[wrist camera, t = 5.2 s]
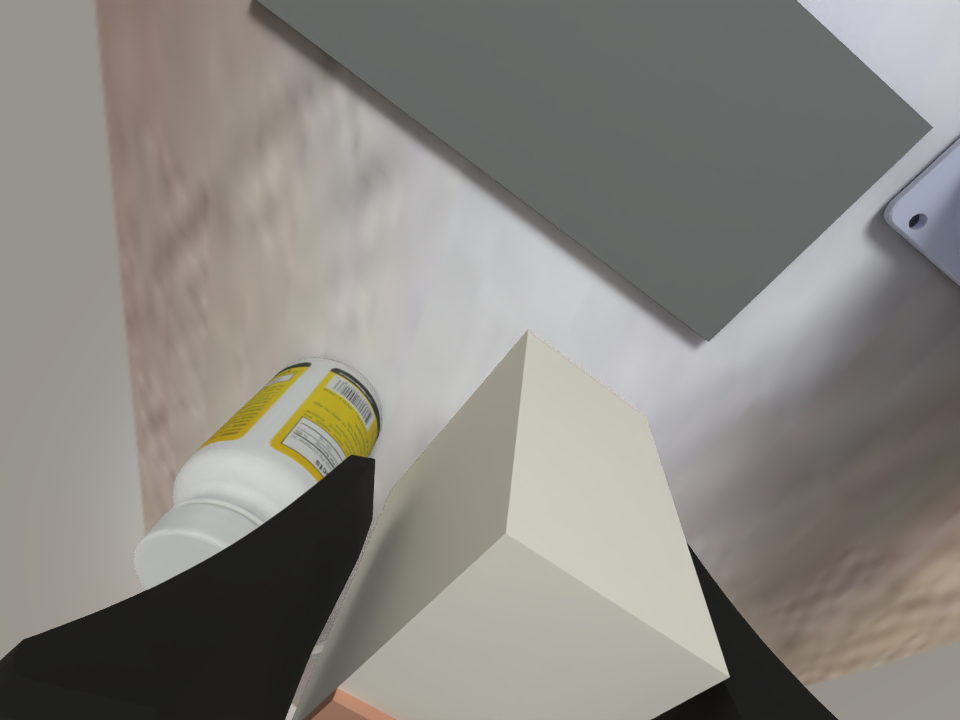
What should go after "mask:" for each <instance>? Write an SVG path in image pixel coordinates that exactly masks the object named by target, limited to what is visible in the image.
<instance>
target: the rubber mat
mask: <svg viewBox="0 0 960 720" xmlns="http://www.w3.org/2000/svg"><path fill="white" fill-rule="evenodd" d="M257 1H258V2H259V3H261V4H262V5H263V6H265V7H266V8H267V9H269V10H270V11H271V12H273V13H274V14H275V15H277V16H278V17H279V18H281V19H282V20H283V21H285V22H286V23H287V24H289V25H290V26H291V27H293V28H294V29H295V30H296V31H298V32H299V33H300V34H302V35H303V36H304V37H306V38H307V39H308V40H310V41H311V42H312V43H314V44H315V45H316V46H318V47H319V48H320V49H322V50H323V51H324V52H326V53H327V54H328V55H330V56H331V57H332V58H334V59H335V60H336V61H338V62H339V63H340V64H342V65H343V66H344V67H346V68H347V69H348V70H349V71H351V72H352V73H353V74H355V75H356V76H357V77H359V78H360V79H361V80H363V81H364V82H365V83H367V84H368V85H369V86H371V87H372V88H373V89H375V90H376V91H377V92H379V93H380V94H381V95H383V96H384V97H385V98H387V99H388V100H389V101H391V102H392V103H393V104H395V105H396V106H397V107H399V108H400V109H401V110H402V111H404V112H405V113H406V114H408V115H409V116H410V117H412V118H413V119H414V120H416V121H417V122H418V123H420V124H421V125H422V126H424V127H425V128H426V129H428V130H429V131H430V132H432V133H433V134H434V135H436V136H437V137H438V138H440V139H441V140H442V141H444V142H445V143H446V144H448V145H449V146H450V147H452V148H453V149H454V150H455V151H457V152H458V153H459V154H461V155H462V156H463V157H465V158H466V159H467V160H469V161H470V162H471V163H473V164H474V165H475V166H477V167H478V168H479V169H481V170H482V171H483V172H485V173H486V174H487V175H489V176H490V177H491V178H493V179H494V180H495V181H497V182H498V183H499V184H501V185H502V186H503V187H505V188H506V189H507V190H509V191H510V192H511V193H512V194H514V195H515V196H516V197H518V198H519V199H520V200H522V201H523V202H524V203H526V204H527V205H528V206H530V207H531V208H532V209H534V210H535V211H536V212H538V213H539V214H540V215H542V216H543V217H544V218H546V219H547V220H548V221H550V222H551V223H552V224H554V225H555V226H556V227H558V228H559V229H560V230H562V231H563V232H564V233H565V234H567V235H568V236H569V237H571V238H572V239H573V240H575V241H576V242H577V243H579V244H580V245H581V246H583V247H584V248H585V249H587V250H588V251H589V252H591V253H592V254H593V255H595V256H596V257H597V258H599V259H600V260H601V261H603V262H604V263H605V264H607V265H608V266H609V267H611V268H612V269H613V270H615V271H616V272H617V273H618V274H620V275H621V276H622V277H624V278H625V279H626V280H628V281H629V282H630V283H632V284H633V285H634V286H636V287H637V288H638V289H640V290H641V291H642V292H644V293H645V294H646V295H648V296H649V297H650V298H652V299H653V300H654V301H656V302H657V303H658V304H660V305H661V306H662V307H664V308H665V309H666V310H668V311H669V312H670V313H671V314H673V315H674V316H675V317H677V318H678V319H679V320H681V321H682V322H683V323H685V324H686V325H687V326H689V327H690V328H691V329H693V330H694V331H695V332H697V333H698V334H699V335H701V336H702V337H703V338H705V339H706V340H707V341H710V340H711V339H712V338H713V337H714V336H715V335H716V334H717V333H718V332H719V331H720V330H721V329H722V328H724V327H725V326H726V325H727V324H728V323H729V322H730V321H731V320H732V319H733V318H734V317H735V316H736V315H737V314H738V313H739V312H740V311H741V310H742V309H743V308H744V307H746V306H747V305H748V304H749V303H750V302H751V301H752V300H753V299H754V298H755V297H756V296H757V295H758V294H759V293H760V292H761V291H762V290H763V289H764V288H765V287H766V286H768V285H769V284H770V283H771V282H772V281H773V280H774V279H775V278H776V277H777V276H778V275H779V274H780V273H781V272H782V271H783V270H784V269H785V268H786V267H787V266H788V265H790V264H791V263H792V262H793V261H794V260H795V259H796V258H797V257H798V256H799V255H800V254H801V253H802V252H803V251H804V250H805V249H806V248H807V247H808V246H809V245H810V244H812V243H813V242H814V241H815V240H816V239H817V238H818V237H819V236H820V235H821V234H822V233H823V232H824V231H825V230H826V229H827V228H828V227H829V226H830V225H831V224H832V223H834V222H835V221H836V220H837V219H838V218H839V217H840V216H841V215H842V214H843V213H844V212H845V211H846V210H847V209H848V208H849V207H850V206H851V205H852V204H853V203H854V202H856V201H857V200H858V199H859V198H860V197H861V196H862V195H863V194H864V193H865V192H866V191H867V190H868V189H869V188H870V187H871V186H872V185H873V184H874V183H875V182H876V181H878V180H879V179H880V178H881V177H882V176H883V175H884V174H885V173H886V172H887V171H888V170H889V169H890V168H891V167H892V166H893V165H894V164H895V163H896V162H897V161H898V160H900V159H901V158H902V157H903V156H904V155H905V154H906V153H907V152H908V151H909V150H910V149H911V148H912V147H913V146H914V145H915V144H916V143H917V142H918V141H919V140H920V139H922V138H923V137H924V136H925V135H926V134H927V133H928V132H929V131H930V130H931V129H932V128H933V127H932V126H931V125H930V124H929V123H928V122H927V121H925V120H924V119H923V118H922V117H921V116H920V115H919V114H918V113H917V112H916V111H915V110H914V109H913V108H912V107H910V106H909V105H908V104H907V103H906V102H905V101H904V100H903V99H902V98H901V97H900V96H899V95H898V94H896V93H895V92H894V91H893V90H892V89H891V88H890V87H889V86H888V85H887V84H886V83H885V82H884V81H883V80H881V79H880V78H879V77H878V76H877V75H876V74H875V73H874V72H873V71H872V70H871V69H870V68H869V67H867V66H866V65H865V64H864V63H863V62H862V61H861V60H860V59H859V58H858V57H857V56H856V55H855V54H854V53H852V52H851V51H850V50H849V49H848V48H847V47H846V46H845V45H844V44H843V43H842V42H841V41H840V40H838V39H837V38H836V37H835V36H834V35H833V34H832V33H831V32H830V31H829V30H828V29H827V28H826V27H824V26H823V25H822V24H821V23H820V22H819V21H818V20H817V19H816V18H815V17H814V16H813V15H812V14H811V13H809V12H808V11H807V10H806V9H805V8H804V7H803V6H802V5H801V4H800V3H799V2H798V1H797V0H257Z"/></svg>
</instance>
